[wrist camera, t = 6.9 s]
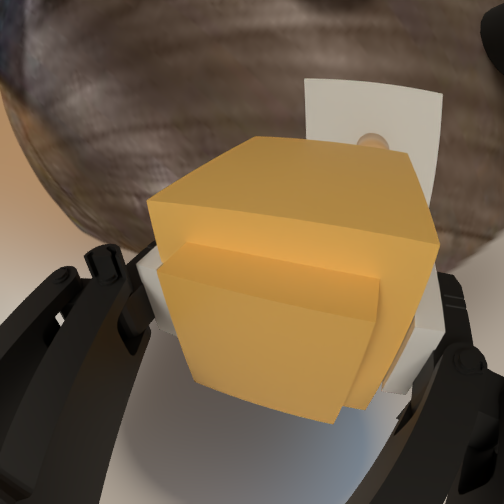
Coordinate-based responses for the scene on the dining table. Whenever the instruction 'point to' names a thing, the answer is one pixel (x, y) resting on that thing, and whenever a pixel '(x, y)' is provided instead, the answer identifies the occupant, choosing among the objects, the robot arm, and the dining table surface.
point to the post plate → (377, 120)
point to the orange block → (294, 270)
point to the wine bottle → (494, 35)
